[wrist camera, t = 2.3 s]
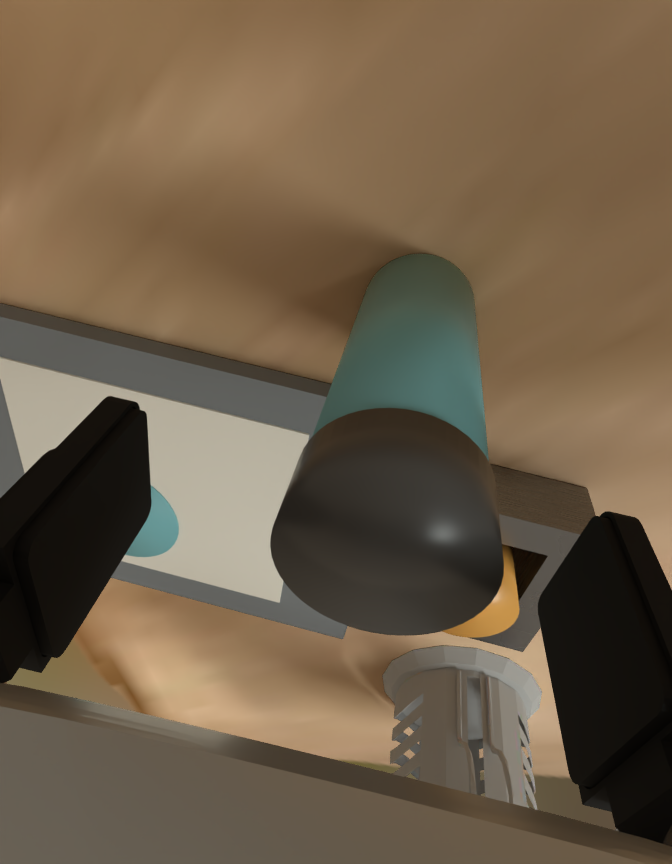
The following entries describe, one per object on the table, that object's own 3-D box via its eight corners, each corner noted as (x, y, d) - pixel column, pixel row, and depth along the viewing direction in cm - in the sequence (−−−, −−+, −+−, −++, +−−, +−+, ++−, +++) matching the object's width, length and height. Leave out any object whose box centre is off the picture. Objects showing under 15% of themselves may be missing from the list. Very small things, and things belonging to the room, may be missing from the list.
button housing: (587, 488, 22) (603, 540, 20) (516, 599, 27) (522, 651, 25) (403, 442, 23) (398, 488, 20) (366, 560, 27) (358, 608, 25)
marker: (494, 266, 18) (544, 514, 8) (456, 371, 20) (460, 656, 11) (373, 238, 18) (283, 448, 8) (351, 346, 20) (261, 603, 11)
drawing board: (416, 405, 21) (414, 421, 20) (345, 624, 31) (342, 642, 30) (-43, 292, 22) (-65, 303, 21) (27, 540, 32) (14, 555, 31)
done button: (526, 533, 22) (535, 591, 20) (494, 589, 25) (498, 647, 22) (435, 510, 22) (433, 564, 20) (411, 568, 25) (407, 623, 22)
